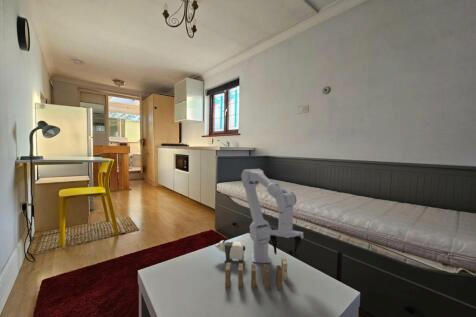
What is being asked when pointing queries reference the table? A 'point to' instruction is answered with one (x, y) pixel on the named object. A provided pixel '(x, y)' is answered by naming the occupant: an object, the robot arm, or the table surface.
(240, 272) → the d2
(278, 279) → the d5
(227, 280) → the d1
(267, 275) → the d4
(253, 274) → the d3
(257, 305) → the table surface
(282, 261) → the maple tile
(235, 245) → the giant panda
